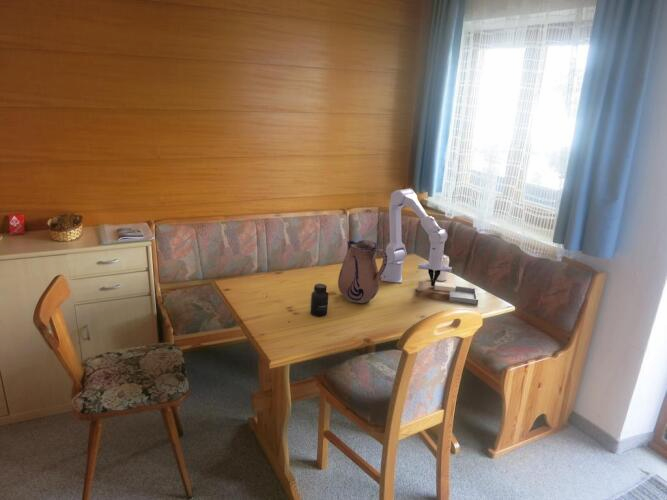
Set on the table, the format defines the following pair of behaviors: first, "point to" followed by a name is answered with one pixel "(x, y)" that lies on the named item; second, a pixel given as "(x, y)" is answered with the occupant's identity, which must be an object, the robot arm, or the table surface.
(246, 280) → the table surface
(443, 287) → the tile
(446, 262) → the can
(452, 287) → the tile
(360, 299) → the ceramic pitcher
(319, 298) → the supplement bottle
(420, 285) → the brown board
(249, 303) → the table surface
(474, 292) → the tray
